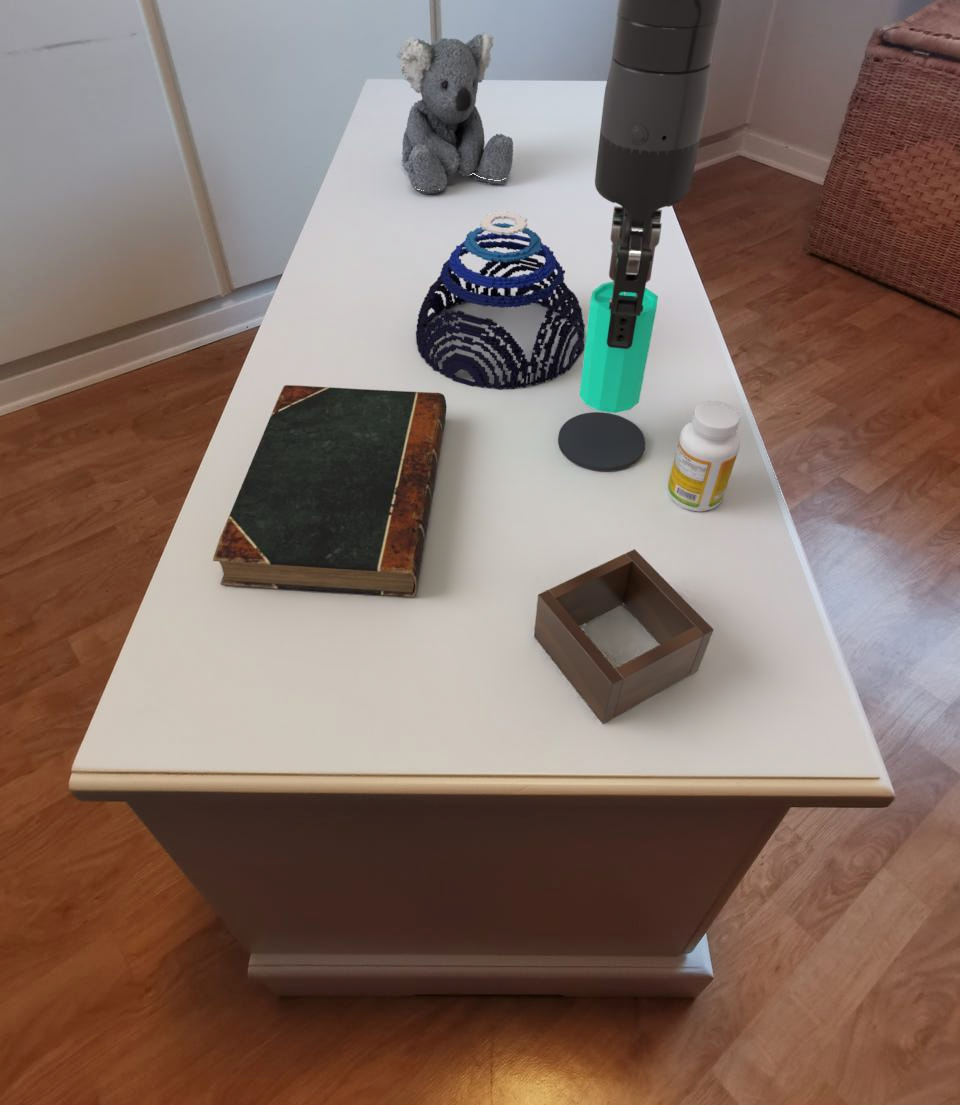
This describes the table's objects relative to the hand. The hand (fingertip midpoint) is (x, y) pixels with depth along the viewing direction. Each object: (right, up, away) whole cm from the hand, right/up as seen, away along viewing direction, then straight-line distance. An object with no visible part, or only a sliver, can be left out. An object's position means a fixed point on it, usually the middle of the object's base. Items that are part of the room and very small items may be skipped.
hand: (620, 325), depth 70 cm
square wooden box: (-2, -29, -8) cm, 30 cm away
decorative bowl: (-10, +5, +23) cm, 26 cm away
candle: (0, -5, +6) cm, 8 cm away
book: (-26, -15, +5) cm, 30 cm away
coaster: (0, -9, +10) cm, 14 cm away
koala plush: (-18, +42, +57) cm, 73 cm away
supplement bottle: (+8, -15, +5) cm, 18 cm away
